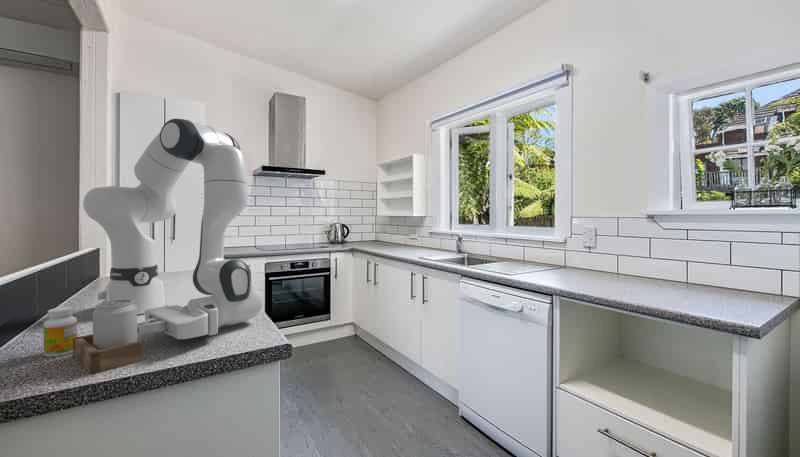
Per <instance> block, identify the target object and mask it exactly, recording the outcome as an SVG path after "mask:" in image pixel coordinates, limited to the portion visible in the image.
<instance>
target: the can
mask: <svg viewBox="0 0 800 457" xmlns="http://www.w3.org/2000/svg"><path fill="white" fill-rule="evenodd" d="M95 305H96V306H97V308H96V309H94V310H93V311H92V334H93V347H94V348H96V349H97V350H102V349H106V348H110V347H115V346H119V345H123V344H127V343H131V342H136V341H139V339H138V332H137V323H138V315H137V306H136V305H134V304H133V300H129V299H121V300H111V301H106V302H102V301H101V302H99V303H96V304H95Z"/></svg>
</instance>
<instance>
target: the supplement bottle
mask: <svg viewBox="0 0 800 457" xmlns="http://www.w3.org/2000/svg"><path fill="white" fill-rule="evenodd" d="M73 312H74V308H73V307H72V306H62V307H56V308H55V307H54V308H51V309H49V310H47V318H48V319H47V320H45V321H44V322H43V355H44V356H45V357H59V356H65V355H68V354H71V353H72V354H73V338H76V337H79V336H78V319H77V317H76V316H73Z"/></svg>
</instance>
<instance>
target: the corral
mask: <svg viewBox="0 0 800 457" xmlns="http://www.w3.org/2000/svg"><path fill="white" fill-rule="evenodd" d="M72 356H73V358H74V359H75V360H76V361H77V362H79V363H80V364H81V366H83V367H84V368H85V369H86V370H87V371H89V373H90V374H91V375H95V374H98V373H102V372H104V371H105V372H106V371H109V370H112V369H116V368H119V367H123V366H126V365H132V364H134V363H139V362H141V361H142V341H140V340H138V341H136V342H131V343H127V344H123V345H119V346H115V347H110V348H106V349H102V350H97V349H96V348H94V347H93V333H92V334H87V335H86V334H85V335H83V336H82V335H81V336H78V337H76V338H73V352H72Z"/></svg>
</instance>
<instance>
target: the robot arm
mask: <svg viewBox="0 0 800 457" xmlns="http://www.w3.org/2000/svg"><path fill="white" fill-rule="evenodd" d="M190 162H192V163H195V164H200V165H201V166H202V167H203V183H204V184H203V211H202V216H201V217H202V218H201V223H200V241H199V255H198V260H197V263H196V266H195V268H194V270H193V274H192V282H193V286H194V288H195V289H196V291H198V292H199V293H201V294H203V295H205V296H204V297H199V298H192V299H190V300H189V301H188V303H187V304H186V305H184V306H182V305H177V304H176V305H170V302H169V301H168V300H165V294H164V283H163V281H162V279H160V278H158V275H159V268H158V267H159V266H158V265H157V247H156V245H157V244H156V241H155V240H154V239H153V238H152V237H151V236H149V235H146V233H144V232H143V230H142V227H141V224H140V223H157V222H162V221H166V220H169V219H171V218H172V217H173V216H174V215H175V213H176V210H177V203H176V199H175V198H174V197H173V195H172V192H173V188H174V186H175V184H176V183H177V181H178V180H179V179H180V177H181V175H182V174H183V172H184V171H185V170H186V169H187V167H188V166H189V164H190ZM133 170H134V171H133V172H134V175H135V178H136V179H137V180H138V181H139V185H137V186H136V187H127V186H126V187H125V186H115V185H109V186H100V187H99V186H98V187H94V188H91V189H90V190H89V191H87V193H86V194H85V196H84V198H83V202H82V203H83V210H84V212H85V214H86V215H87V216H88V217H89V218H90V219H91V220H93V221H94V222H96V223H97V224H98V225H100V226H101V227H102V228H103V230H104V231H105V233H106V235H107V237H108V239H109V242H110V248H111V259H112V260H111V261H112V262H111V263H112V267H111V268H110V271H109V282H108V284H107V285H106V287H105V288H104V290H102V292H101V291H100V292H98V293H97V298H98V301H100V300H101V303H102V302H106V301H111V300H121V299H129V300H133V304H134V305H136V306H137V316H138V315H142V314H144V321H142V322H137V334H140V335H142V334H146V333H159V332H162V333H165V334H167V335H168V336H171V337H172V338H174V339H176V340H188V339H194V338H200V337H202V336H214V335H217V334H218V333H219V328H222V327H224V326H234V325H237V324H241V323H245V322H246V321H250V320H252V319H254V318H256V316H258V315H259V313H260V312H261V310H262V307H263V296H262V294H261V292H260V291H259V290H258V289H257V288H256V286H255V283H254V282H253V280H252V273H251V272H252V270H251V269H250V266H249V265H248V264H247V263H246V262H244V260H240V259H235V258H233V259H225V254H224V253H225V238H226V237H225V236H226V231H227V228H228V227H229V224H230V223H231V222H232V221H233V220H234V219H235V218H236V217H237V216H238V215H240V214H241V213H242V212H243V211H244V210H245V208H246V207H247V205H248V204H247V203H248V197H249V186H248V185H249V182H248V173H247V166H246V162H245V158H244V153H243V152H242V151H241V146H240V143H239V142H238V140H237V139H235V138H234V137H233V136H231V134H228V133H226V132H223V131H220V130H219V129H216V128H213V127H211V126H209V125H204V124H200V123H197V122H192V121H190V120H189V119H183V118H171V119H169V120H167V121H166V122H165V123H164V124H163V125H162V127H161V130H160V132H159V133H158V134H157V135H156V136H155V137H154V138H153V140H151V142H150V143H149V144H148V146H147V147H146V149H145V150H144V151H143V153H142V154H141V156H140V157H139V159H138V160H137V162H136V163H135V165H134V166H133ZM96 305H97V304H95V306H94V308H95V309H96V308H97V306H96ZM95 309H94V310H95Z"/></svg>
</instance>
